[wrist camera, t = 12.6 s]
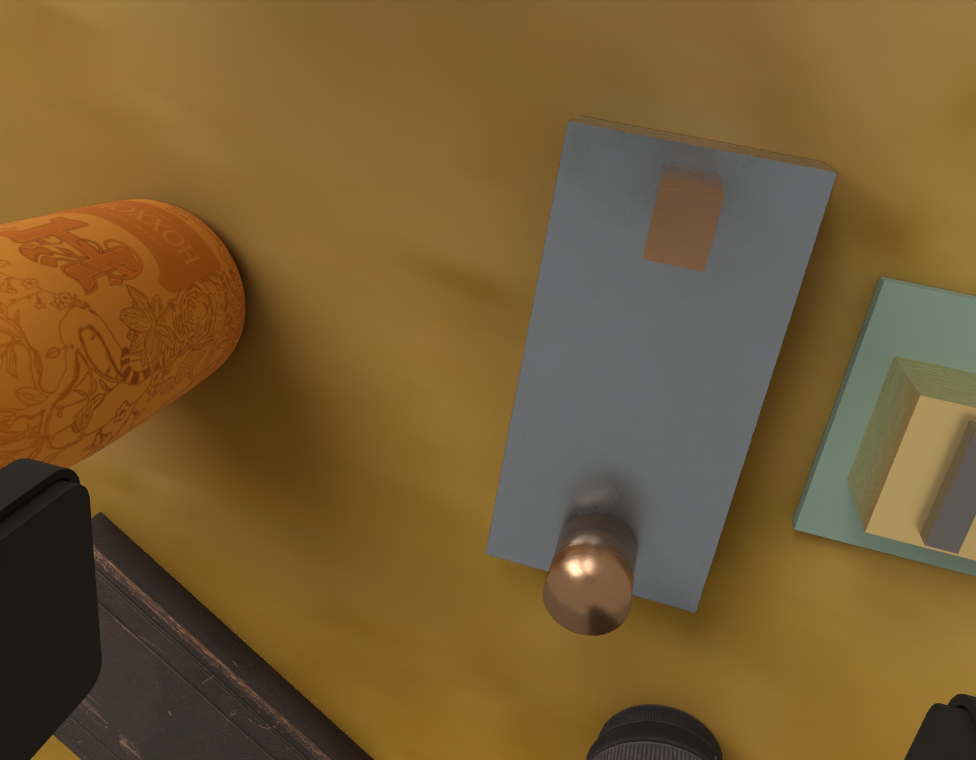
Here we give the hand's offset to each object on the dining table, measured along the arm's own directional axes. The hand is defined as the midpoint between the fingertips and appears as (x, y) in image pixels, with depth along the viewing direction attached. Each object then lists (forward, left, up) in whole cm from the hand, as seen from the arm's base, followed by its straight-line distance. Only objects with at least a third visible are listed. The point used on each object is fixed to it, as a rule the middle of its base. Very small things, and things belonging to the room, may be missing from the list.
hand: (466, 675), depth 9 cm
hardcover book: (+36, -22, -30) cm, 52 cm away
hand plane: (+6, +2, -29) cm, 30 cm away
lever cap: (+6, +14, -28) cm, 32 cm away
